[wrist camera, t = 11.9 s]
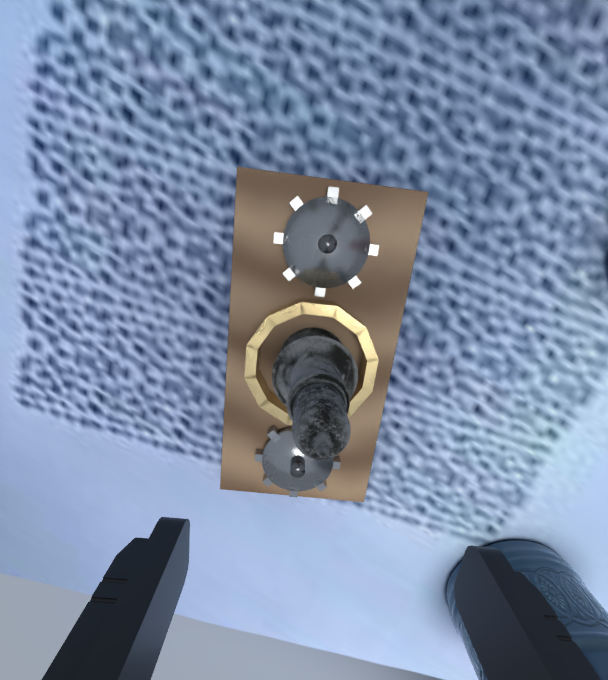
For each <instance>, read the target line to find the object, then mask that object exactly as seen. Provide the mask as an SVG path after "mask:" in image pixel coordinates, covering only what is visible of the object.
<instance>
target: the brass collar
mask: <svg viewBox="0 0 608 680" xmlns="http://www.w3.org/2000/svg"><path fill="white" fill-rule="evenodd" d="M301 314H309V315H318V316H326V317H334V318H335V319H336V320H338V321H339V322H340V323H342V324H343V325H344V326H346V327H347V328H348V329H350V330H351V331H352V332H354V333H355V335H356V337H357V340H358V342H359V345H360V347H361V350H362V352H363V355H362V360H361V366H360V371H359V377H358V382H357V386H356V390H355V392H354V393H353V395H352V397H351V399H350V407H349V411H348V414H347V415H348V417H350V416H352V414H353V413H354V412H355V411H356V410H357V409H358V408H359V406H360V405H361V404H362V403H363V402H364V401H365V400H366V398H367V397H368V396H369V395H370V394H371V393H372V392H373V386H374V381H375V376H376V371H377V366H378V361H379V359H378V356H377V354H376V351H375V348H374V346H373V343H372V341H371V338H370V335H369V333H368V330H367V328H366V326H365V325H364V324H363V323H362V322H361V321H360V320H358V319H357V318H356V317H354V316H353V315H352V314H350V313H349V312H348V311H346V310H345V309H344V308H342V307H341V306H340V305H339V304H337V303H336V302H330V301H321V300H313V299H304V298H300V299H298V300H296V301H293V302H291V303H289V304H286V305H284V306H282V307H279V308H277V309H275V310H272V311H270V312H269V313H268V315H267V316H266V317H265V319H264V320H263V322H262V323H261V324H260V326H259V327H258V328H257V330H256V331H255V333H254V334H253V335H252V337H251V338H250V340H249V341H248V343H247V346H246V361H245V375H244V379H245V381H246V382H247V384H248V386H249V388H250V390H251V392H252V394H253V396H254V398H255V400H256V402H257V403H258V405H259V407H260V408H262V409H263V410H265V411H266V412H268V413H269V414H271V415H272V416H274V417H276V418H277V419H279V420H280V421H282V422H283V423H285V424H286V425H292V423H293V421H292V420H291V419H290V417H289V414H288V412H287V407H286V406H285V405H284V404H283V403H282V402H281V401H280V399H279V398H278V397H277V395H276V394H275V393H273V392H272V391H270V390H269V388H268V386H267V384H266V382H265V380H264V378H263V376H262V374H261V372H260V370H259V356H260V345H261V344H262V342H263V341H264V340H265V338H266V337H267V336H268V334H269V333H270V332H271V330H272V329H273V327H274V326H275V325H278V324H280V323H282V322H285V321H287V320H289V319H292V318H294V317H296V316H299V315H301Z"/></svg>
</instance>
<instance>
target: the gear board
mask: <svg viewBox="0 0 608 680" xmlns="http://www.w3.org/2000/svg"><path fill="white" fill-rule="evenodd" d="M328 187H337V188H339V193H338V198H339V199H342V200H345V201H347V202H348V203H350V204H351V205H353V206H354V207H355V208H356V209H357V210H358V211H359V210H360V209H362V208H363V207H364V206H365V205H367V206H368V208H369V209H370V211H371V212H372V214H371V215H370V216H369V217H368V218H367V219H365V221H366V223H367V226H368V229H369V234H370V244H372V245H379V248H378V254H377V256H374V255H368V257H367V260H366V262H365V264H364V266H363V268H362V269H361V270H360V272H359V273H358V274H357V275H356V277H357V278H358V279H359V281H360V282H361V283H360V284H359V285H357V286H356V287H355V288H351V286H350V285H349V284H348V282H347V283H345V284H343V285H340V286H338V287H333V288H326V289H325V296H324V297H321V296H315V295H314V293H315V287H314V286H311V285H308V284H306V283H304V282H303V281H301V280H300V279H299V278H298V277H296V276H295V277H294V278H292V279H291V280H290V281H288V280H287V278H286V277H285V276H284V275H283V272H284V271H286V270H287V269H288V268H289V266H288V264H287V262H286V259H285V257H284V252H283V244H276V243H274V233H284V230H285V227H286V225H287V222H288V220H289V219H290V217H291V216H292V214H293V213H294V212H295V211H294V210H293V208H292V207H291V206H290V204H289V203H290V202H291V201H292V200H293V199H295V198H296V197H297V196H298V197H299V198H300V200H301V201H302V203H303V204H304V203H306V202H308V201H310V200H312V199H315V198H319V197H327V190H328ZM427 197H428V192H424V191H416V190H409V189H401V188H394V187H386V186H379V185H371V184H363V183H356V182H348V181H341V180H333V179H326V178H318V177H310V176H303V175H295V174H288V173H280V172H273V171H265V170H257V169H250V168H242V167H237V182H236V200H235V219H234V238H233V257H232V276H231V295H230V314H229V332H228V351H227V370H226V389H225V408H224V427H223V446H222V465H221V483H220V489H225V490H236V491H247V492H258V493H269V494H280V495H289V490H285V489H283V488H280V487H278V486H277V485H275V484H274V483H273V484H271V485H270V486H268V487H267V486H266V485H265V484H264V483H263V482H262V481H263V475H264V474H265V472H264V470H263V466H262V462H256V461H255V453H256V449H257V448H258V449H264V447H265V444H266V442H267V440H268V439H269V436H268V435H267V431H268V429H269V428H270V427H272V426H273V425H275V426H276V427H277V428H278V429H279V430H280V429H282V428H284V427H287V426H292V425H286V424H285V423H283V422H282V421H280V420H279V419H277V418H276V417H274V416H272V415H271V414H269V413H268V412H266V411H265V410H263V409H262V408H260V407H259V405H258V403H257V402H256V400H255V398H254V396H253V394H252V392H251V390H250V388H249V386H248V384H247V382H246V381H245V379H244V375H245V361H246V346H247V343H248V341H249V340H250V338H251V337H252V335H253V334H254V333H255V331H256V330H257V328H258V327H259V326H260V324H261V323H262V322H263V320H264V319H265V317H266V316H267V315H268V313H269V312H270V311H272V310H275V309H277V308H279V307H282V306H284V305H286V304H289V303H291V302H293V301H296V300H298V299H300V298H304V299H313V300H321V301H330V302H336V303H337V304H339V305H340V306H341V307H342V308H344V309H345V310H346V311H348V312H349V313H350V314H352V315H353V316H354V317H356V318H357V319H358V320H360V321H361V322H362V323H363V324H364V325H365V326H366V328H367V330H368V333H369V335H370V338H371V341H372V343H373V346H374V348H375V351H376V354H377V356H378V359H379V361H378V366H377V371H376V376H375V381H374V386H373V392H372V393H371V394H370V395H369V396H368V397H367V398H366V400H365V401H364V402H363V403H362V404H361V405H360V406H359V408H358V409H357V410H356V411H355V412H354V413H353V414H352V416H350V417H348V419H349V422H350V428H351V434H350V439H349V442H348V444H347V446H346V448H345V449H344V450H343V451H342V452H341V453H340V454H338V455H336V456H340V461H341V464H340V469H332V471H331V473H330V475H329V476H328V478H327V479H326V483H327V488H325V489H324V490H322V491H321V492H320V491H319V490H318V488H317V487H315V488H313V489H310V490H306V491H298V495H297V496H302V497H313V498H324V499H335V500H347V501H358V502H364V499H365V494H366V489H367V484H368V480H369V475H370V470H371V465H372V460H373V456H374V451H375V446H376V441H377V436H378V432H379V427H380V422H381V417H382V412H383V408H384V403H385V398H386V393H387V388H388V384H389V379H390V374H391V369H392V364H393V360H394V355H395V350H396V345H397V340H398V336H399V331H400V326H401V321H402V316H403V312H404V307H405V302H406V297H407V292H408V288H409V283H410V278H411V273H412V269H413V264H414V259H415V254H416V249H417V245H418V240H419V235H420V230H421V225H422V221H423V216H424V211H425V206H426V201H427ZM313 327H315V328H321V329H325V330H327V331H329V332H331V333H333V334H334V335H335V336H336V337H338V338H339V340H340V341H341V343H342V344H343V346H345V347H346V348H347V349H348V350H349V352H350V353H351V354H352V356H353V357H354V359H355V362H356V365H357V368H358V377H359V371H360V366H361V360H362V355H363V352H362V350H361V347H360V345H359V342H358V340H357V337H356V335H355V333H354V332H352V331H351V330H350V329H348V328H347V327H346V326H344V325H343V324H342V323H340V322H339V321H338V320H336V319H335V318H334V317H326V316H318V315H309V314H301V315H299V316H296V317H294V318H292V319H289V320H287V321H285V322H282V323H280V324H278V325H275V326H274V327H273V329H272V330H271V332H270V333H269V334H268V336H267V337H266V338H265V340H264V341H263V342H262V344H261V345H260V356H259V370H260V372H261V374H262V376H263V378H264V380H265V382H266V384H267V386H268V388H269V390H270V391H272V392H273V393H275V391H274V388H273V384H272V370H273V365H274V362H275V360H276V358H277V356H278V354H279V353H280V351H281V348H282V346H283V344H284V342H285V341H286V340H287V339H288V338H289V337H290V336H291V335H292V334H294V333H295V332H297V331H299V330H302V329H305V328H313ZM275 394H276V393H275Z"/></svg>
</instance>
